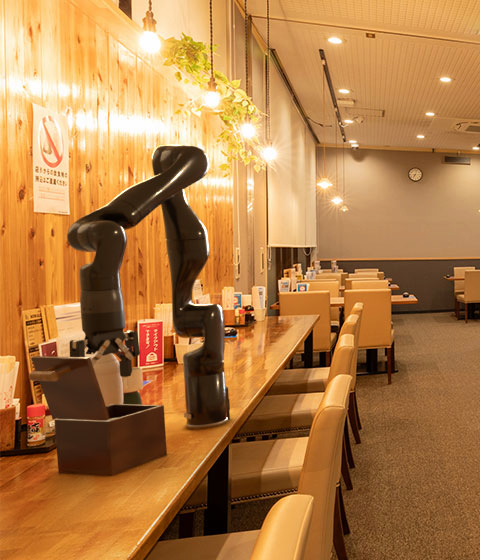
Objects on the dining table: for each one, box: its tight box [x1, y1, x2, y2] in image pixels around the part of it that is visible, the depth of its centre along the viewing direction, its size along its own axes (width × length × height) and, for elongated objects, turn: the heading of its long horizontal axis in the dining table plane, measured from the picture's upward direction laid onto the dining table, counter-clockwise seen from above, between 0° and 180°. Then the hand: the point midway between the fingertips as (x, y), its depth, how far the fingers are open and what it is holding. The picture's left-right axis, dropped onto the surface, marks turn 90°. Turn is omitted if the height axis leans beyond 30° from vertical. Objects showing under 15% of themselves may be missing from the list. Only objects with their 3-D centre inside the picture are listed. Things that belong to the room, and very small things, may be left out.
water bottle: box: [93, 353, 123, 406], centre depth 166 cm, size 7×7×25 cm
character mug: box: [122, 366, 144, 405], centre depth 189 cm, size 11×7×13 cm, turn 30°
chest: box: [54, 404, 168, 476], centre depth 146 cm, size 14×14×12 cm
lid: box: [28, 355, 110, 421], centre depth 134 cm, size 14×14×5 cm
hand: (108, 380), depth 146 cm, fingers open, 8 cm apart
